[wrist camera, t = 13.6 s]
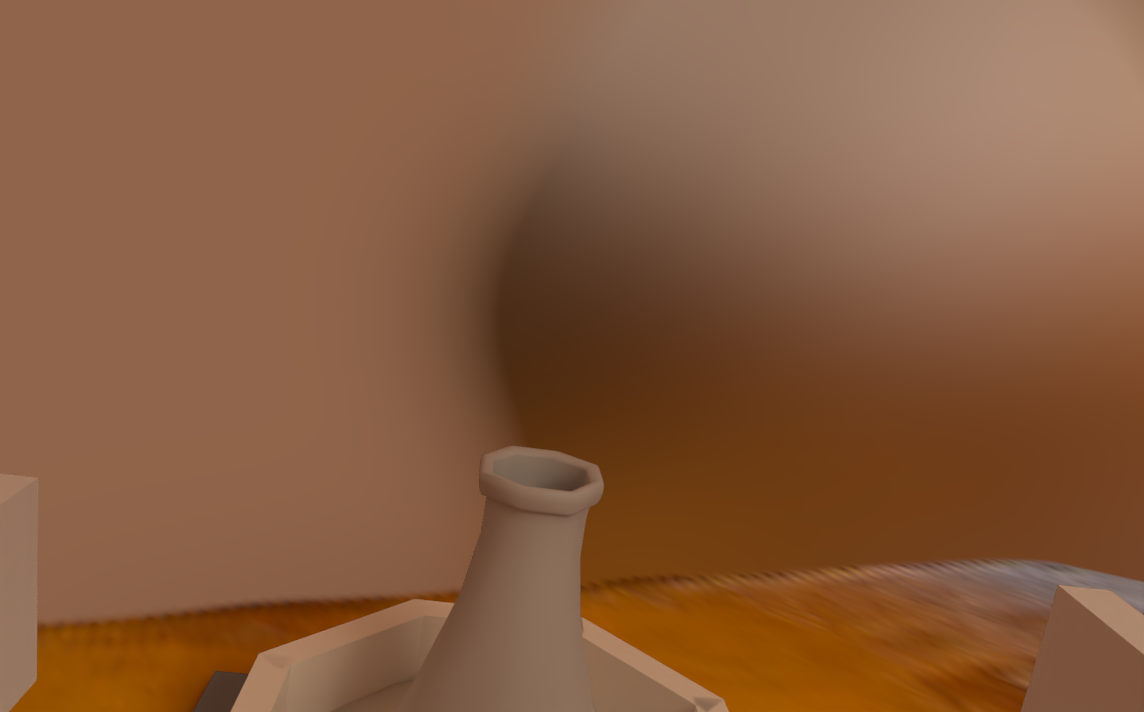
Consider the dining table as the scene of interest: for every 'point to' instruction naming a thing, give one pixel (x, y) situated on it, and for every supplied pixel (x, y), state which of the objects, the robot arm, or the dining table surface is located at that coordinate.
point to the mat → (221, 692)
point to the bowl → (399, 648)
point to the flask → (517, 595)
